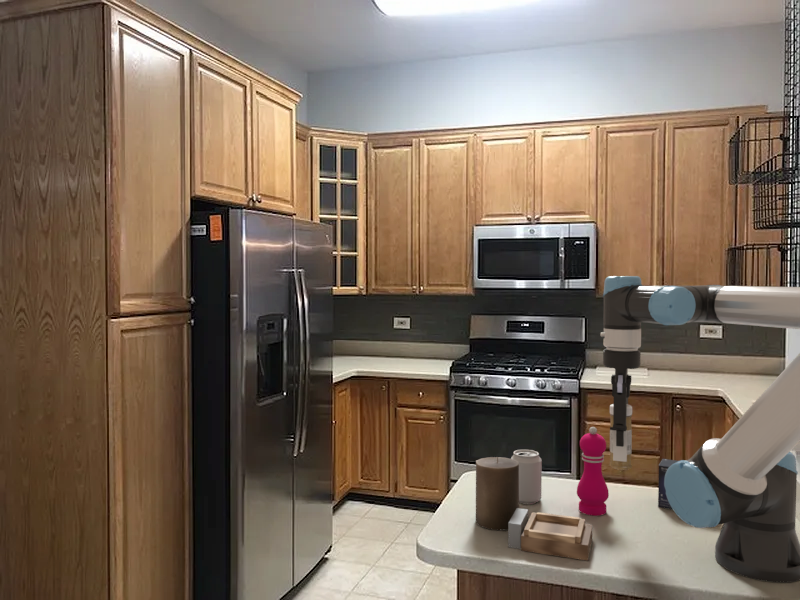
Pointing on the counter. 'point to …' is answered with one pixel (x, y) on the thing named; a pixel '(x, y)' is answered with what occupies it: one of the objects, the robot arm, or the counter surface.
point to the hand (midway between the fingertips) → (620, 457)
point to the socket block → (557, 536)
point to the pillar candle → (496, 492)
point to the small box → (662, 496)
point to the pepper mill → (592, 475)
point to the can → (529, 475)
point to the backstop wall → (517, 527)
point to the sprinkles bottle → (621, 464)
